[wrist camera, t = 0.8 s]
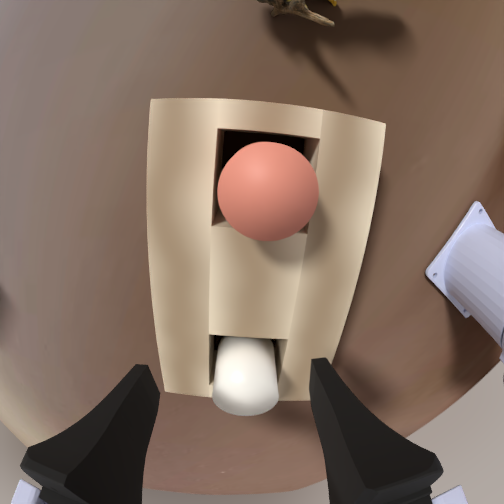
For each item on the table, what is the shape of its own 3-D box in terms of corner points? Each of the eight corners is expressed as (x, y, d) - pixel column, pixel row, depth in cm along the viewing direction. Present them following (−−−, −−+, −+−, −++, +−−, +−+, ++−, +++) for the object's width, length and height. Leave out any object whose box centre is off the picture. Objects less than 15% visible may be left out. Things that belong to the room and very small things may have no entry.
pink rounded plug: (303, 146, 14) (324, 149, 10) (295, 216, 16) (311, 245, 12) (229, 138, 14) (221, 138, 10) (223, 210, 16) (215, 237, 12)
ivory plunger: (277, 330, 19) (283, 378, 15) (270, 370, 21) (273, 416, 16) (218, 327, 19) (212, 374, 15) (217, 367, 20) (212, 413, 16)
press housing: (358, 125, 16) (385, 123, 13) (309, 366, 24) (317, 400, 20) (171, 106, 16) (150, 99, 12) (174, 358, 23) (165, 391, 20)
